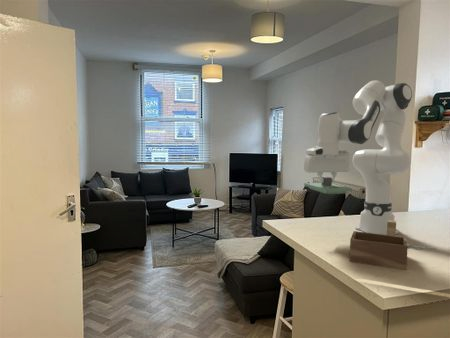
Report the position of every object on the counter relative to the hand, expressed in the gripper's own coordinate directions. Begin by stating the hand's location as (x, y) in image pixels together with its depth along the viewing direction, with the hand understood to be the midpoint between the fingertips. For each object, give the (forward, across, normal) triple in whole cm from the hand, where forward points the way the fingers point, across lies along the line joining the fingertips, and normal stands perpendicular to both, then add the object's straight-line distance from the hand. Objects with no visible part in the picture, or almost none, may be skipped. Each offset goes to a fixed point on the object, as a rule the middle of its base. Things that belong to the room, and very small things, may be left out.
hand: (326, 182), depth 152 cm
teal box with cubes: (+2, 0, 0) cm, 2 cm away
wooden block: (+25, -15, +22) cm, 37 cm away
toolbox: (+25, -4, +29) cm, 39 cm away
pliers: (+26, -30, +19) cm, 44 cm away
